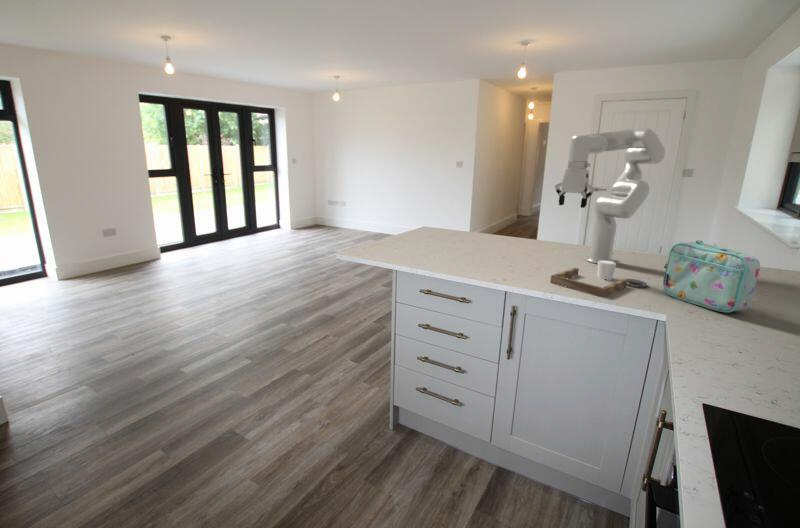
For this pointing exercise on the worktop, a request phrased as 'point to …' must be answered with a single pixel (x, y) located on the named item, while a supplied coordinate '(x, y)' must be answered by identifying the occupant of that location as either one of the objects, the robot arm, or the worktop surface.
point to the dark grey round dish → (636, 283)
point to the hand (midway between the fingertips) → (571, 206)
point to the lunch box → (711, 276)
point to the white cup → (605, 269)
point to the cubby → (599, 291)
